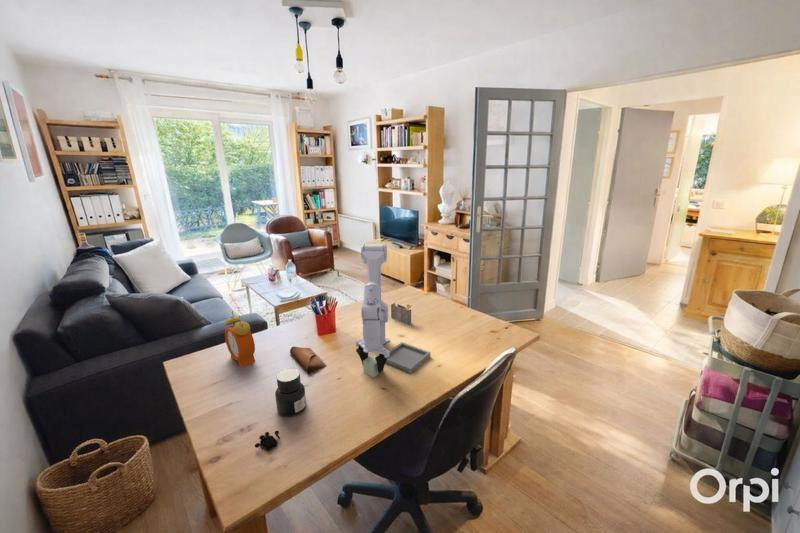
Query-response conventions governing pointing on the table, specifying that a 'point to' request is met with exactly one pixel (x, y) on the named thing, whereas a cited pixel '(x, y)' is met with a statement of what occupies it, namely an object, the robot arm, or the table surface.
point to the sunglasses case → (307, 359)
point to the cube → (370, 366)
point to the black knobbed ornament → (267, 441)
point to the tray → (407, 357)
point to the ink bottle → (290, 393)
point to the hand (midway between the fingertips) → (372, 368)
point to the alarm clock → (240, 341)
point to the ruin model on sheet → (401, 313)
